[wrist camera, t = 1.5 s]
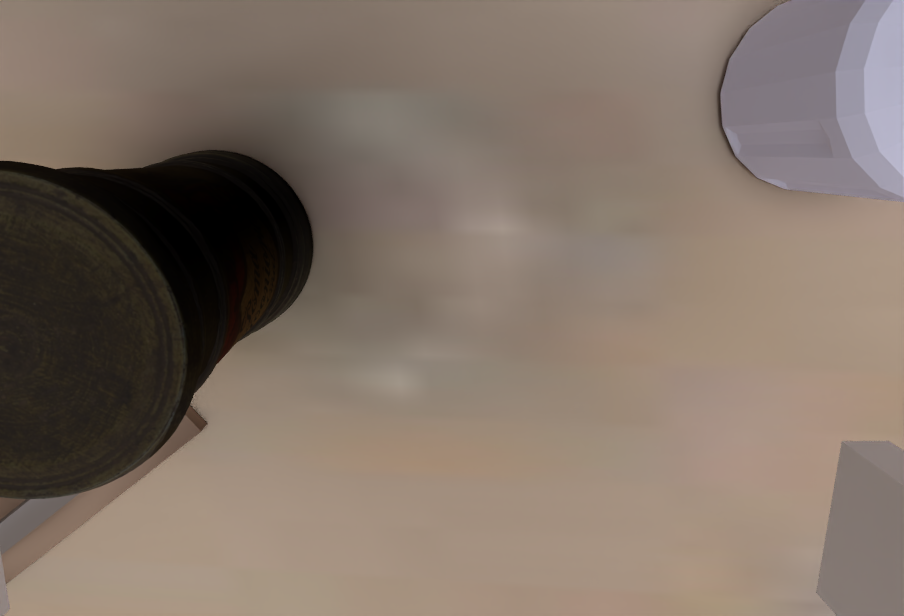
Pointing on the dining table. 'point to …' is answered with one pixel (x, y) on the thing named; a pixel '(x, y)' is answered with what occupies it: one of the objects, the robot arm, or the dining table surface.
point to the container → (129, 304)
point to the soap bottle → (821, 98)
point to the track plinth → (71, 507)
